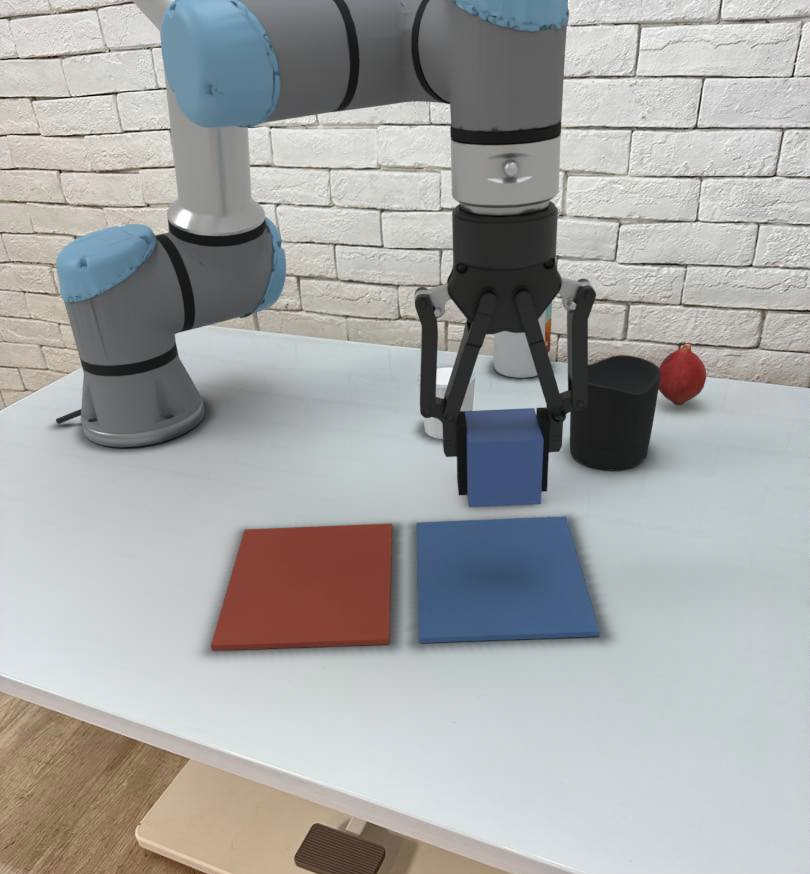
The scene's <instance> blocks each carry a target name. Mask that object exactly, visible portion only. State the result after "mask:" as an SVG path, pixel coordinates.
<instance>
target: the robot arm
mask: <svg viewBox="0 0 810 874" xmlns="http://www.w3.org/2000/svg"><path fill="white" fill-rule="evenodd" d="M131 1H132V3H133V4H134V5H135V6H136V7H137V8H138V9H139V10H140V11H141V13H143V15H144V16H145V17H146V18H147V19H148V20H149V21H150V22H151V23H152V25H153V26H155V28H156V30H158V31H159V37H160V48H161V56H162V62H163V63H162V64H163V73H164V81H165V92H166V99H167V100H166V101H167V109H168V117H169V128H170V135H171V137H170V138H171V145H172V154H173V163H174V172H175V181H176V189H177V199H176V200H174V202H172V204H170V206H169V207H168V209H167V211H166V217H167V223H168V224H167V225H168V231H167V232H164V233H159V234H156V233H154V231H153V229H152V228H151V227H150V226H148V225H145V224H139V223H128V224H125V225H121V226H118V225H115V226H110V227H106V228H102V229H99V230H95V231H92V232H90V233H89V232H88V233H87V234H84V235H82V236H80V237H78V238H76V239H74V240H72V241H70V242H69V243H67V244H66V245H65V246H64V247H63V248H62V249H61V250H60V251H59V253H58V254H57V256H56V259H55V260H56V261H55V269H56V274H57V281H58V284H59V294H60V298H61V299H62V301H63V302H64V306H65V311H66V314H67V317H68V321H69V324H70V325H69V326H70V328H71V333H72V336H73V339H74V342H75V346H76V350H77V354H78V356H79V357H78V358H79V361H80V365H81V368H82V372H83V381H82V382H83V383H82V395H81V406H80V407H81V408H80V409H77V410H75V411H72V412H70V413H67V414H64V415H63V416H62V415H61V416H60V417H57V418H56V419H55V422H56V424H57V425H60V424H63V423H65V422H67V421H70V420H73V419H75V418H78V417H80V421H81V422H80V423H81V426H82V429H83V432H84V435H85V437H86V438H87V439H88V440H89V441H91V442H92V443H95V444H98V445H101V446H106V447H113V448H135V447H144V446H150V445H155V444H159V443H163V442H166V441H170V440H173V439H176V438H178V437H180V436H182V435H185V434H186V433H188V432H190V431H191V430H192V429H194V428H195V427H197V426H198V425H200V423H201V421H202V420H203V419H204V417H205V406H204V402H203V397H202V394H200V391H199V390H198V388H197V387H196V384H195V383H194V380H193V379H192V377H191V376H190V373H188V370H187V368H186V367H185V364H184V363H183V362H182V359H180V355H179V352H178V346H177V342H176V335H177V334H180V333H183V332H187V331H191V330H195V329H199V328H203V327H207V326H211V325H216V324H218V323H222V322H226V321H230V320H234V319H238V318H239V319H245V318H248V317H251V316H252V315H254V314H255V313H259V312H262V311H265V310H268V309H270V308H271V307H272V306H273V305H275V304H276V303H277V302H278V301H279V298H281V296H282V293H283V290H284V287H285V282H286V277H287V258H286V251H285V249H284V248H282V242H283V239H282V235H281V234H280V232H279V231H280V230H279V229H278V228H277V226H276V225H275V223H274V222H273V221H272V219H270V218H269V217H267V216H266V212H265V209H264V208H263V206H262V205H261V204H260V203H259V202H257V201H256V199H254V198H253V197H252V180H251V159H250V157H251V156H250V143H249V141H250V140H249V139H250V138H249V128H251V127H252V128H253V127H256V126H259V125H262V124H266V123H271V122H278V121H279V122H280V121H285V120H290V119H291V120H292V119H297V118H303V117H310V116H316V115H323V114H328V113H329V114H330V113H338V112H345V111H346V112H347V111H353V110H360V109H361V110H362V109H366V108H375V107H382V106H390V105H397V104H402V103H415V102H425V103H438V104H444V105H445V104H446V105H449V109H450V110H449V111H450V127H449V133H450V134H449V135H450V168H451V169H450V172H451V173H450V174H451V175H450V177H451V180H450V181H451V198H452V199H453V200H455V201H456V202H457V203H458V204H457V205H456V206H455V207H454V209H453V210H452V212H451V222H452V223H451V225H452V226H451V227H452V230H451V231H452V232H451V233H452V268H451V271H450V273H449V275H448V277H447V279H446V283H443V284H440V285H437V286H434V287H431V288H427V287H425V286H419V287H418V288H417V289H415V291H414V308H415V311H416V314H417V317H418V319H419V322H420V325H421V332H420V335H421V337H420V373H419V374H420V390H419V412H420V413H419V414H420V416H421V417H422V418H423V417H424V418H431V417H433V418H437V419H439V420H440V421H441V422H442V426H443V439H442V449H443V454H444V456H445V457H446V458H455V457H456V483H457V491H458V492H457V493H458V496H467V435H466V434H467V423H466V416H465V411H460V410H461V407H462V404H463V400H464V397H465V394H466V391H467V388H468V385H469V382H470V379H471V376H472V372H474V369H475V366H476V363H477V359H478V357H479V353H480V351H481V348H482V347H483V345H484V341H485V339H486V335H494V334H496V333H499V332H503V331H507V332H512V333H525V336H526V339H527V342H528V346H529V349H530V352H531V355H532V359H533V362H534V365H535V369H536V372H537V378H538V382H539V385H540V389H541V391H542V394H543V395H542V396H543V398H544V402H545V405H546V407H536V409H535V412H536V416H537V420H538V423H539V426H540V430H541V433H542V436H543V439H544V440H543V465H542V490H541V493H545V492H548V482H549V481H548V479H549V458H550V453H558V452H559V453H560V451H561V449H562V447H563V433H564V432H563V431H564V422H565V420H566V418H567V414H570V412H571V411H574V410H577V411H582V410H584V409H585V408H586V407H587V405H588V364H589V317H590V315H591V312H592V309H593V306H594V304H595V301H596V298H597V293H596V290H595V288H594V287H593V285H592V284H591V282H590V280H589V279H587V278H580V279H578V280H573V279H569V278H566V277H562V276H561V274H560V272H559V270H558V267H557V243H558V241H557V240H558V218H559V209H558V207H557V206H556V204H555V203H554V202H553V201H551V200H553V199H554V198H555V197H556V196H557V195H558V194H559V192H560V165H561V160H560V159H561V139H562V138H561V137H562V135H561V133H562V116H563V100H564V99H563V96H564V81H565V80H564V79H565V78H564V77H565V59H566V44H567V32H568V23H569V19H570V9H569V0H131ZM557 295H559V296H561V304H562V306H563V308H564V309H565V310H566V339H567V340H566V341H567V342H566V354H567V355H566V356H567V357H566V358H567V359H566V360H567V390H564V391H562V392H560V390H559V387H558V383H557V380H556V376H555V373H554V370H553V366H552V363H551V359H549V356H548V352H547V349H546V345H545V342H544V338H543V334H542V331H541V328H540V324H539V321H538V319H539V318H540V317H541V315H542V314H543V313H544V311H545V310H546V309H547V307H548V306H549V305H550V303H551V302H552V303H553V301H554V299H556V297H557ZM450 300H452V302H453V303H454V304H455V306H456V307H457V309H458V310H459V311H460V312H461V314H462V315H463V316H464V317H465V319H466V320H465V324H464V328H463V333H462V336H461V339H460V344H459V346H458V350H457V352H456V357H455V360H454V362H453V369H452V373H451V376H450V379H449V382H448V386H447V389H446V392H445V395H444V399H442V398H438V397H436V375H437V366H438V349H439V348H438V343H439V327H438V325H439V324H438V319H440V318H442V317H443V316H444V314H445V312H446V304H447V302H448V301H450Z"/></svg>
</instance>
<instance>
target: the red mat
mask: <svg viewBox="0 0 810 874" xmlns="http://www.w3.org/2000/svg"><path fill="white" fill-rule="evenodd" d="M392 554H393V523H391V522H390V523H369V524H345V525H322V526H321V525H320V526H319V525H318V526H295V527H269V528H248V529H247V528H246V529H243V534H242V537H241V542H240V544H239V547H238V550H237V555H236V559H235V561H234V565H233V568H232V572H231V575H230V578H229V582H228V585H227V588H226V592H225V596H224V598H223V603H222V606H221V609H220V612H219V615H218V619H217V622H216V627H215V630H214V633H213V637H212V640H211V644H210V648H211V651H238V650H239V651H240V650H241V651H242V650H266V649H292V648H293V649H294V648H321V647H322V648H323V647H347V646H377V645H379V646H380V645H390V637H391V636H390V635H391V634H390V631H391V595H392V594H391V592H392V562H393V561H392V560H393V559H392V557H393V556H392Z"/></svg>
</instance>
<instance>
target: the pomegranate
mask: <svg viewBox="0 0 810 874" xmlns="http://www.w3.org/2000/svg"><path fill="white" fill-rule="evenodd" d="M658 367H659V369H660V370H661V378H660V384H659V390H658V392H660V393H661V395H663V397H664V398H665V399H667V400H668V401H669V402H671V403H672V404H674V405H675V406H682V405H684V404H685V403H686V402H688V401H690V400H691V399H694V398H695V397H697V396H698V395H699V394H700V393H701V392H702V390H703V389H704V387H705V384H706V380H707V369H706V366H705V364H704V362H703V361H702V360H701V358H700V357H699V356H698V355H697V353H694V352H693V351H692V345H691V343H685V344H684V345H682V346H681V347H679V348H678V349H677V350H675V351H673V352H671V353H670V354H668V355H667V356H666V357H665V358H664V359H663V360H662V361H661V363H660V365H659V366H658Z"/></svg>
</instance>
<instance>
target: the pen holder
mask: <svg viewBox="0 0 810 874" xmlns="http://www.w3.org/2000/svg"><path fill="white" fill-rule="evenodd" d="M659 367H660V366H658V365H657V364H656V363H654V362H652V361H650V360H648V359H645V358H642V357H638V356H634V355H633V356H632V355H626V354H622V355H621V354H619V355H612V356H609V357H607V358H604V359H601V360H599V361H597V362H593V363H588V405H587V407H586V408H585V409H584V410H582V411H577V410H574V411H571V412H569V414H570V415H569V450H570V454H571V455H572V456H573V458H574V459H575V460H576V461H578V462H579V463H581V464H582V465H584V466H587V467H590V468H594V469H597V470H605V471H606V470H607V471H619V470H626V469H631V468H634V467H635V466H638V465H639V464H641V463H642V462H643V461H644V460H645V459H646V457H647V456H648V454H649V453H648V452H649V448H650V442H651V436H652V431H653V426H654V420H655V413H656V406H657V401H658V395H659V384H660V378H661V370H660V369H659Z"/></svg>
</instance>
